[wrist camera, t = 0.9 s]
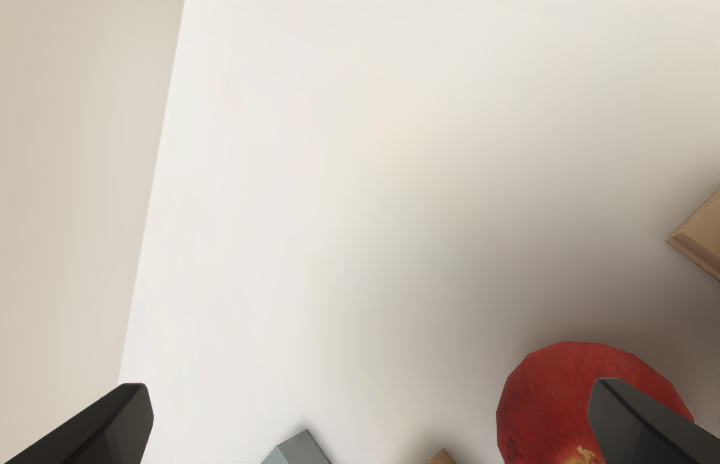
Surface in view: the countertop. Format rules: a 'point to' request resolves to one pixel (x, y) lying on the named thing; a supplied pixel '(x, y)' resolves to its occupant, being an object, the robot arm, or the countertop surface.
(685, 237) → the block
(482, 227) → the countertop surface
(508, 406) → the onion
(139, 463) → the robot arm
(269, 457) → the tray
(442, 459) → the block
